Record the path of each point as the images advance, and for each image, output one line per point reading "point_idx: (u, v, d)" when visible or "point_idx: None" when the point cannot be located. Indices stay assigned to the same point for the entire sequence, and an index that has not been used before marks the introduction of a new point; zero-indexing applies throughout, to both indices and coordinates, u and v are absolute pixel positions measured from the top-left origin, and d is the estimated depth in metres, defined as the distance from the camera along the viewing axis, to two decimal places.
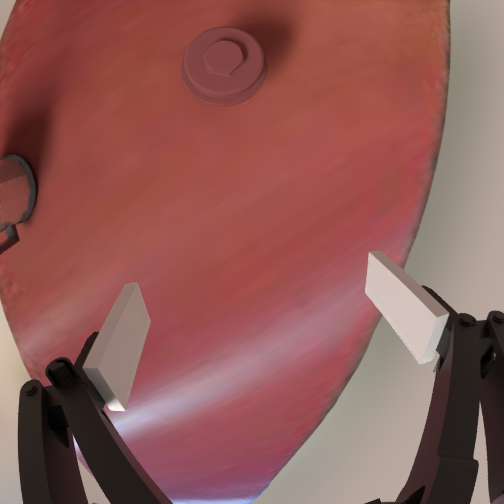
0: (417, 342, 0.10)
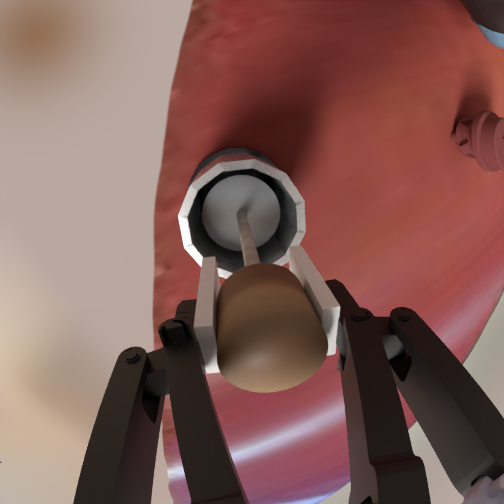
0: None
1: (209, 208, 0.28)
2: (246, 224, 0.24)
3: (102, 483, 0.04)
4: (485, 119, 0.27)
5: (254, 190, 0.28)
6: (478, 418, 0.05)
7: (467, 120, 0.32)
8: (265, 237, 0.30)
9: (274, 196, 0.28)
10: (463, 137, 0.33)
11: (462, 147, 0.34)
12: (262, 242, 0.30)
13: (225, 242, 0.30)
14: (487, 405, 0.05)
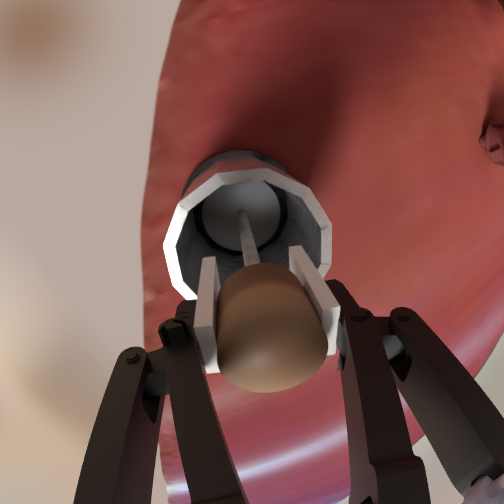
0: None
1: (209, 208, 0.28)
2: (246, 224, 0.24)
3: (102, 483, 0.04)
4: None
5: (254, 190, 0.28)
6: (478, 418, 0.05)
7: (497, 123, 0.25)
8: (266, 237, 0.30)
9: (274, 196, 0.28)
10: (493, 142, 0.27)
11: (492, 153, 0.27)
12: (262, 242, 0.30)
13: (225, 242, 0.30)
14: (487, 405, 0.05)
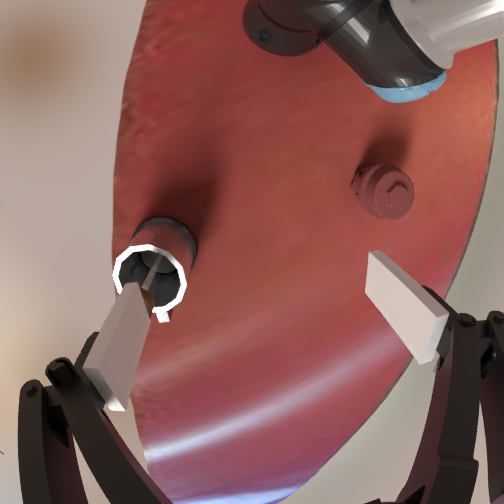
0: (417, 342, 0.10)
1: (144, 250, 0.50)
2: (156, 262, 0.46)
3: None
4: (374, 172, 0.42)
5: None
6: None
7: (365, 170, 0.47)
8: None
9: None
10: None
11: (358, 196, 0.49)
12: (174, 268, 0.52)
13: None
14: None
